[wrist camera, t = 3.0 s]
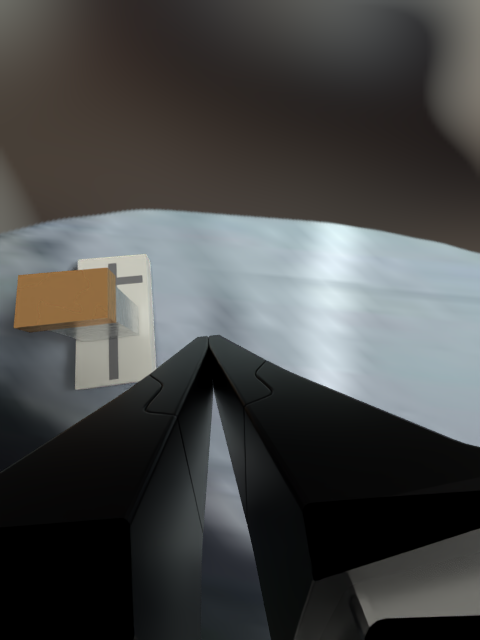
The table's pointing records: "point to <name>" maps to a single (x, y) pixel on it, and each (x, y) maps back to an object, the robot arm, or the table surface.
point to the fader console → (124, 352)
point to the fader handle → (75, 305)
